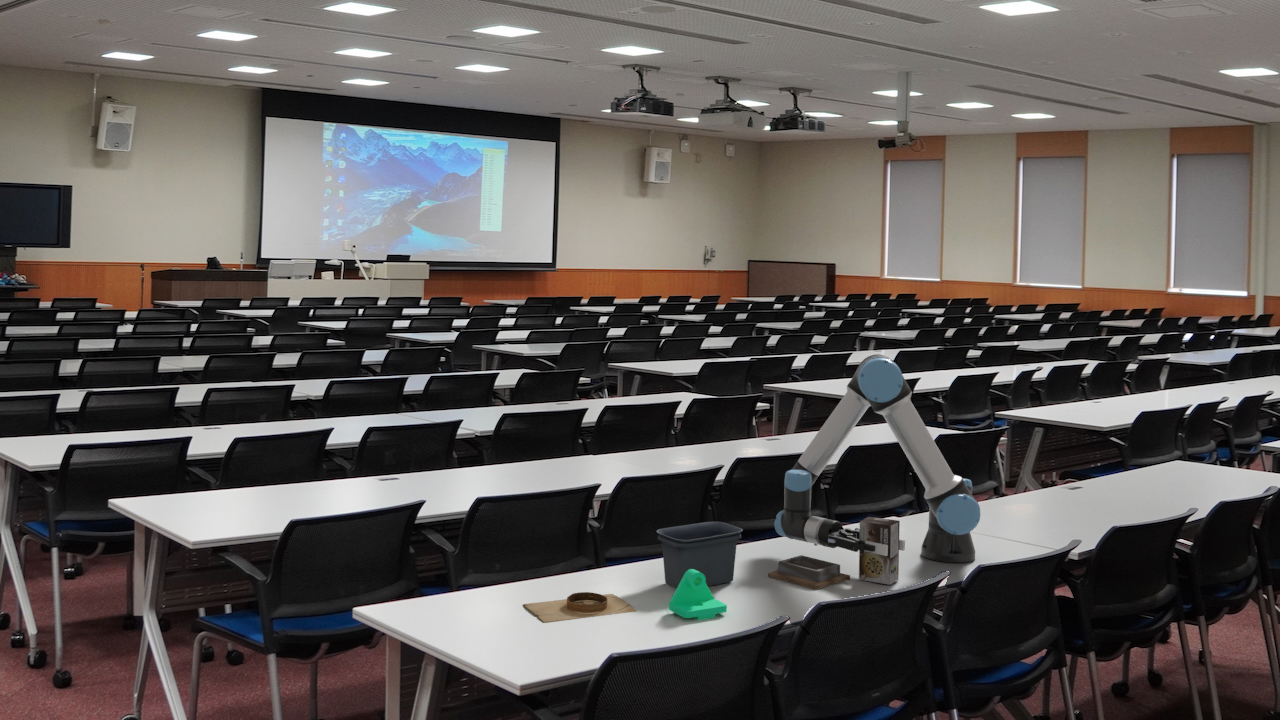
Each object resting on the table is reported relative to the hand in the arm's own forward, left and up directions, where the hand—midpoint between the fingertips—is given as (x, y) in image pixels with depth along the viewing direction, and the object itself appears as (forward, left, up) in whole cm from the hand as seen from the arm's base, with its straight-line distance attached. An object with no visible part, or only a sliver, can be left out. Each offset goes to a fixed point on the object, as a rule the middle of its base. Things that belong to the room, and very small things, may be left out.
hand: (895, 548), depth 305 cm
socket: (+12, -19, -10) cm, 24 cm away
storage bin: (+38, -36, -10) cm, 53 cm away
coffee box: (0, -5, -10) cm, 11 cm away
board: (+76, -39, -11) cm, 86 cm away
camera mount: (+58, -17, -10) cm, 61 cm away
